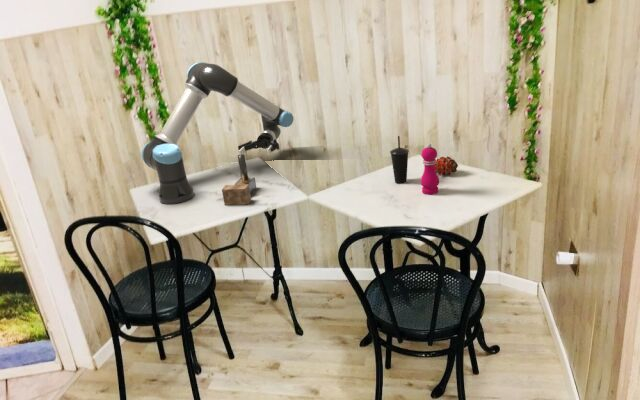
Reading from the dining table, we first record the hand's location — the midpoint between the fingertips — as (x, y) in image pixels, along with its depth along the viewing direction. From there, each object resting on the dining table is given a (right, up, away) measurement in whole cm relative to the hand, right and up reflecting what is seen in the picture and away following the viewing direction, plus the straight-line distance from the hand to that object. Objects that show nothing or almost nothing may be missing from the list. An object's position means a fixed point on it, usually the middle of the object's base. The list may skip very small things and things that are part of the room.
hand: (253, 153), depth 240 cm
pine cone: (+84, -11, -17) cm, 86 cm away
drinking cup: (+65, -14, -19) cm, 69 cm away
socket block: (-4, -23, -21) cm, 31 cm away
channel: (-2, -18, -12) cm, 22 cm away
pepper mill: (+74, -19, -32) cm, 83 cm away
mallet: (-3, -19, -16) cm, 25 cm away
